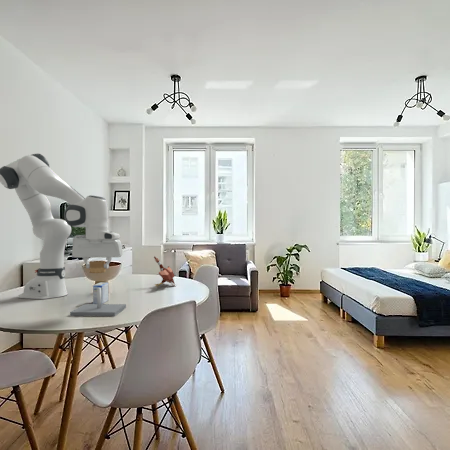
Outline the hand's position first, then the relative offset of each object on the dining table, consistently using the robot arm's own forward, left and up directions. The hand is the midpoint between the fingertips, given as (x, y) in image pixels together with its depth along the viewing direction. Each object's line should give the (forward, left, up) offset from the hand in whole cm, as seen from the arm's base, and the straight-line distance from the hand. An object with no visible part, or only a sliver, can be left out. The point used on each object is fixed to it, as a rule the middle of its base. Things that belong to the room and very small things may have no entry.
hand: (97, 268), depth 149 cm
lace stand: (0, +1, -18) cm, 18 cm away
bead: (0, 0, -2) cm, 2 cm away
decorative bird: (+15, +60, -18) cm, 64 cm away
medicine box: (-6, +18, -18) cm, 26 cm away
